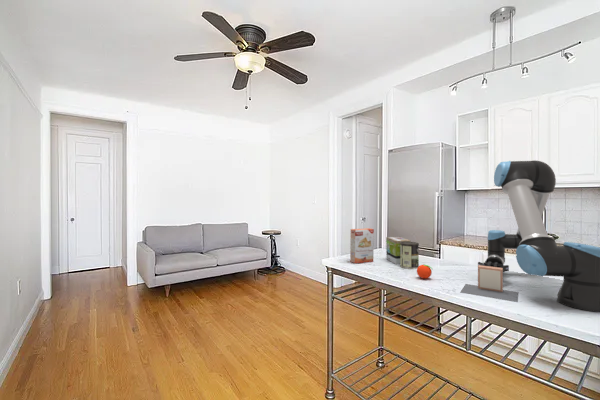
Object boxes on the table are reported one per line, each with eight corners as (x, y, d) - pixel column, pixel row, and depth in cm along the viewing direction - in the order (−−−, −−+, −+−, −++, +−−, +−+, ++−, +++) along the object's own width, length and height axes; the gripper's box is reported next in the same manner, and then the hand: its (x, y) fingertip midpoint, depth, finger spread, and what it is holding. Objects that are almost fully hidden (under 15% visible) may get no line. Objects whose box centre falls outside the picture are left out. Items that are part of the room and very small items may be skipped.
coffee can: (417, 265, 179) (417, 241, 179) (420, 269, 169) (420, 244, 169) (399, 264, 181) (399, 241, 181) (401, 268, 171) (401, 244, 171)
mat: (518, 293, 128) (518, 292, 128) (517, 303, 116) (517, 302, 116) (465, 284, 140) (465, 283, 140) (459, 293, 128) (459, 292, 128)
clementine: (435, 278, 151) (435, 264, 151) (431, 281, 146) (431, 267, 146) (419, 275, 156) (419, 262, 156) (414, 278, 151) (414, 264, 151)
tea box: (385, 259, 196) (385, 236, 196) (400, 258, 197) (400, 236, 197) (395, 264, 181) (395, 240, 181) (411, 264, 182) (411, 239, 182)
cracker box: (355, 264, 184) (355, 229, 183) (349, 262, 189) (349, 228, 189) (374, 261, 189) (374, 228, 189) (368, 260, 195) (368, 227, 194)
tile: (502, 290, 130) (502, 268, 128) (502, 292, 128) (502, 269, 127) (478, 286, 135) (478, 265, 134) (478, 288, 133) (477, 266, 132)
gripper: (510, 272, 147) (507, 284, 128) (479, 269, 155) (472, 279, 136) (510, 257, 147) (507, 267, 128) (479, 254, 155) (472, 263, 136)
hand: (489, 273), depth 132 cm, fingers closed
